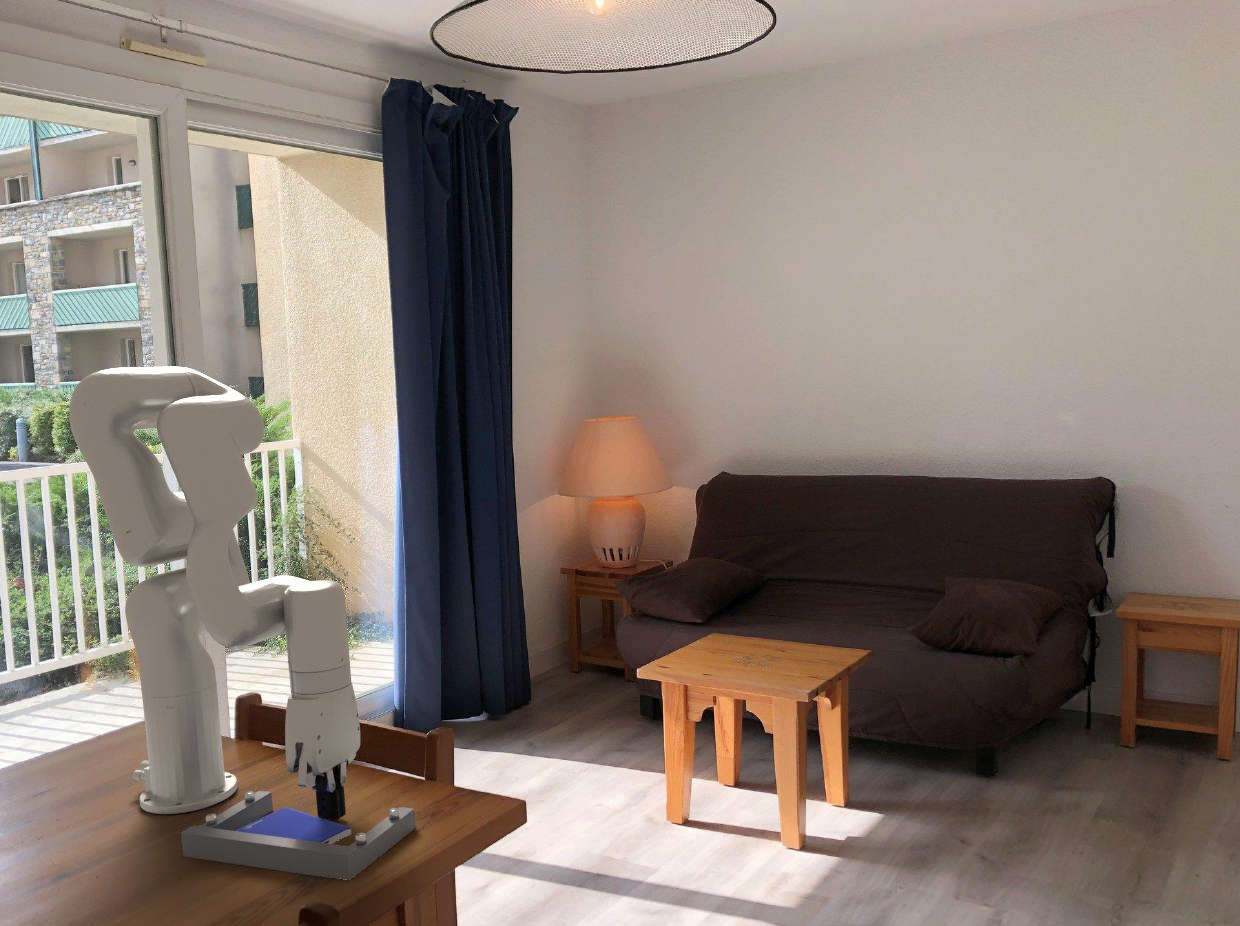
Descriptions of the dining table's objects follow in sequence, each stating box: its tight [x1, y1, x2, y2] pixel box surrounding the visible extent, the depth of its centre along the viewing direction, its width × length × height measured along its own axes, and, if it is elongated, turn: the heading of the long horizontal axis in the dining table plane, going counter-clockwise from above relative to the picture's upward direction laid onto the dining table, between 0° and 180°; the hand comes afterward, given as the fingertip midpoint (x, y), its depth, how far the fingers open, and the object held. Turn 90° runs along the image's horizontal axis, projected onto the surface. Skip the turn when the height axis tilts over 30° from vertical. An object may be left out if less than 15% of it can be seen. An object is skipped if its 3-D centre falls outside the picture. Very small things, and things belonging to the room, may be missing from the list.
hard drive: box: [236, 806, 352, 844], centre depth 129 cm, size 2×8×12 cm
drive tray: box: [180, 790, 416, 881], centre depth 127 cm, size 24×14×4 cm, turn 70°
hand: (331, 816), depth 133 cm, fingers closed
